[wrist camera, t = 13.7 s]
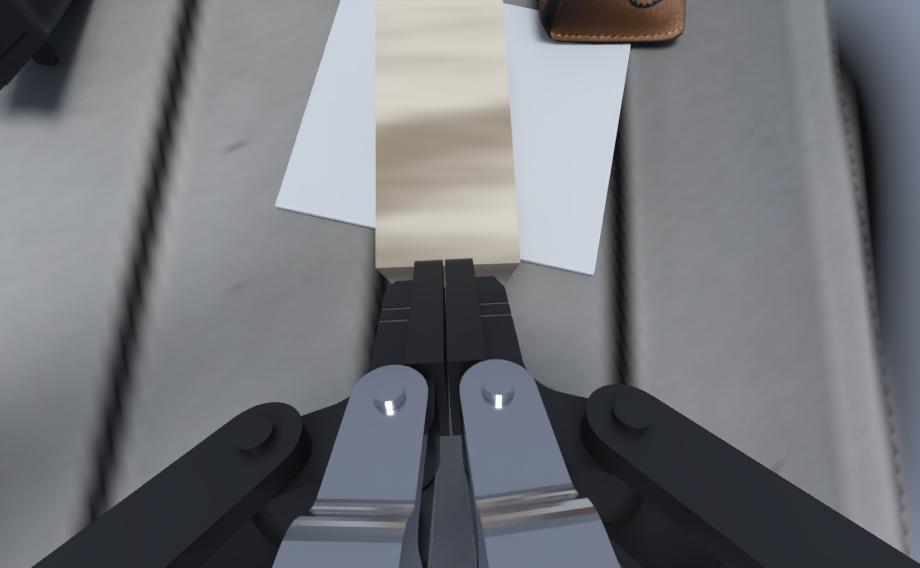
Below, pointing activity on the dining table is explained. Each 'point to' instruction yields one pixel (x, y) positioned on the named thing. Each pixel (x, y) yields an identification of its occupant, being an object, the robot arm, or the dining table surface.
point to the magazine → (27, 33)
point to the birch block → (443, 138)
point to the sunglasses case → (612, 20)
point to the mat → (532, 122)
